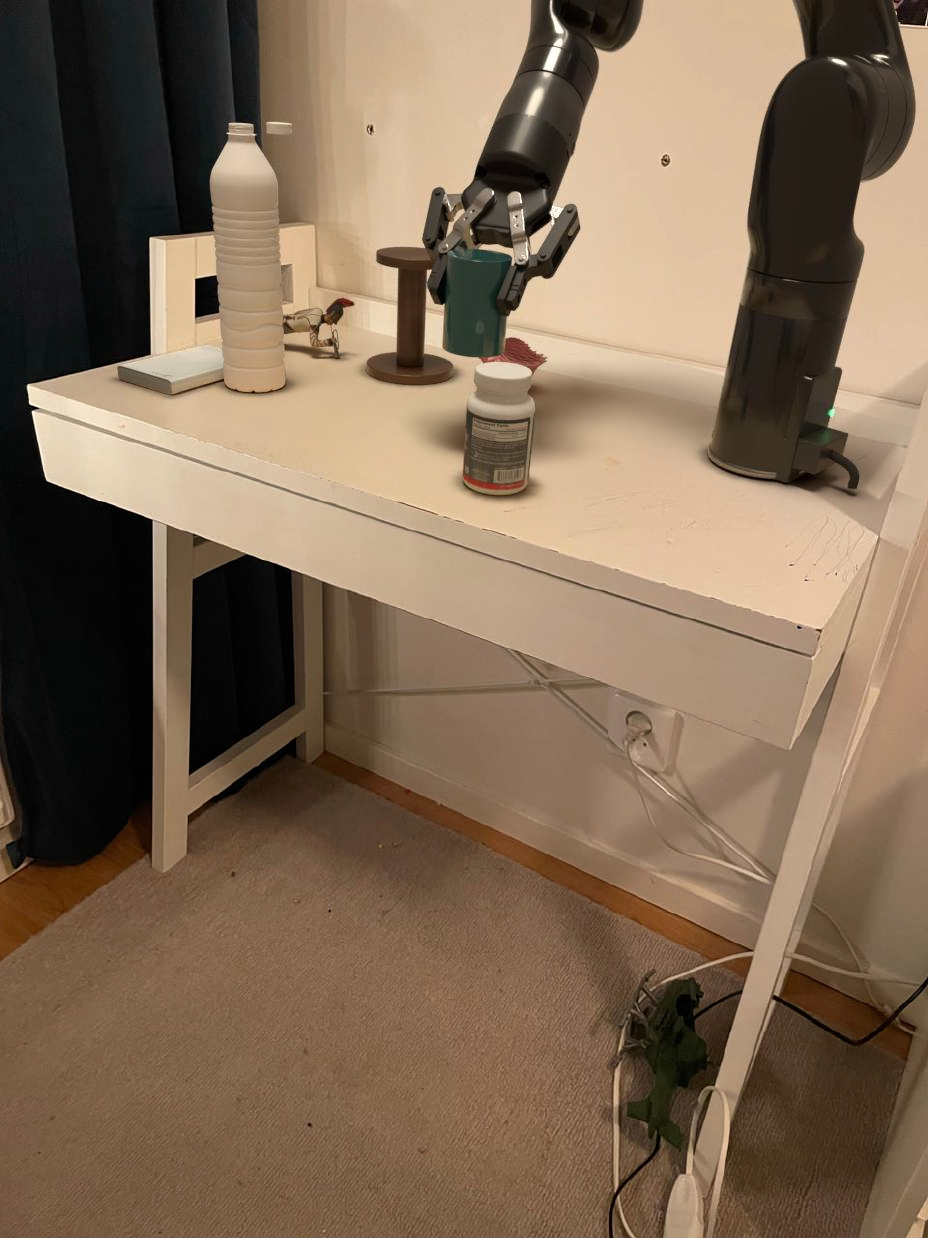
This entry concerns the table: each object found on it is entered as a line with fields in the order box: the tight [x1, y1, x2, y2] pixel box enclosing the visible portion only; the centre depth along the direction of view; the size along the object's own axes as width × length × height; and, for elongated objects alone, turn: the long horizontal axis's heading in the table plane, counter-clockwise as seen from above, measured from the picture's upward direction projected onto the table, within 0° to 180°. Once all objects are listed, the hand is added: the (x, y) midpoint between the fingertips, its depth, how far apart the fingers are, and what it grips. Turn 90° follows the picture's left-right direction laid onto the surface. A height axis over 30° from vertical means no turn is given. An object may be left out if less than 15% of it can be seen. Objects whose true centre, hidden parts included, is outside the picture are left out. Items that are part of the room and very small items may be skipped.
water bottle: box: [209, 121, 293, 393], centre depth 95 cm, size 9×6×25 cm
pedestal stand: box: [365, 246, 454, 386], centre depth 104 cm, size 10×10×13 cm
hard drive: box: [116, 344, 224, 395], centre depth 101 cm, size 2×8×12 cm
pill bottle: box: [462, 362, 536, 496], centre depth 78 cm, size 6×6×10 cm
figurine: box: [282, 297, 355, 359], centre depth 112 cm, size 6×4×15 cm
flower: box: [478, 336, 548, 377], centre depth 103 cm, size 8×8×6 cm
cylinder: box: [441, 248, 513, 359], centre depth 81 cm, size 6×6×8 cm
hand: (468, 304), depth 80 cm, fingers closed on cylinder, 5 cm apart
